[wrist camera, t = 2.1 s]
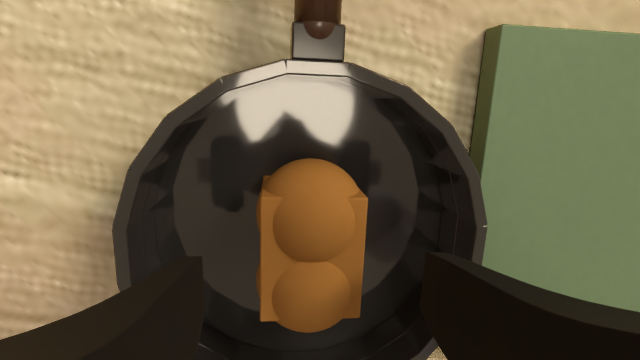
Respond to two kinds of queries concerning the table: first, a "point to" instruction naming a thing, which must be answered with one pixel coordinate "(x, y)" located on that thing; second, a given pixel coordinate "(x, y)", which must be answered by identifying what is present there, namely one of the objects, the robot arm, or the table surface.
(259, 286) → the orange double sphere block
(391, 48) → the table surface
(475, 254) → the pan
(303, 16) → the pan handle
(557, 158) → the cutting board
